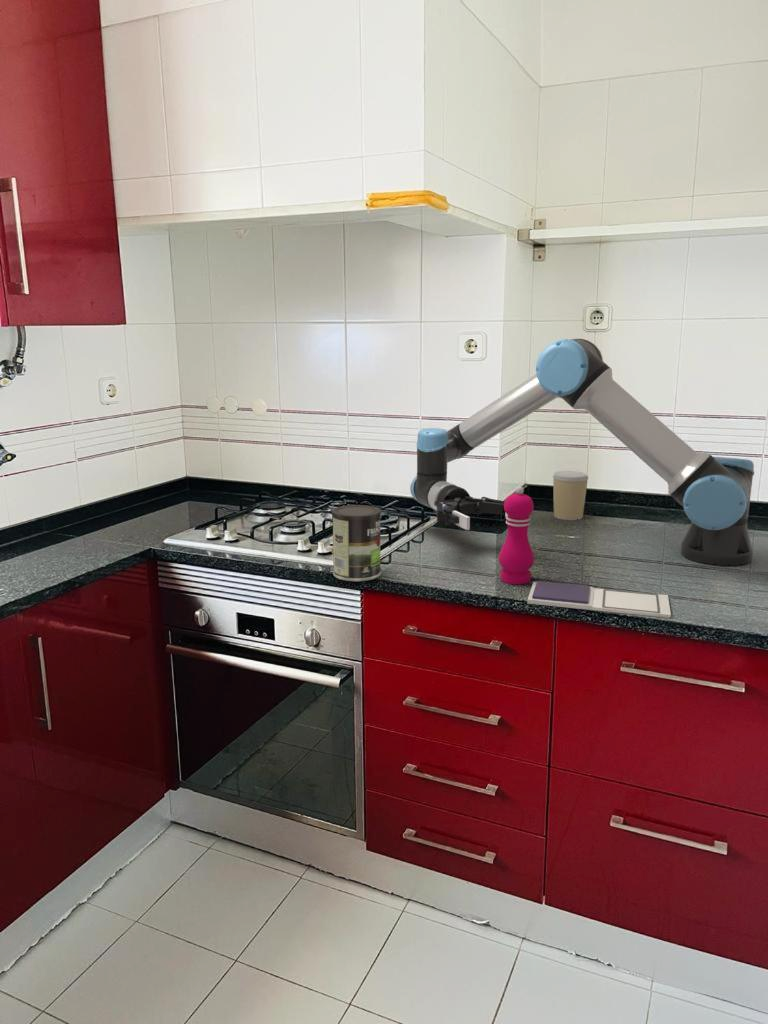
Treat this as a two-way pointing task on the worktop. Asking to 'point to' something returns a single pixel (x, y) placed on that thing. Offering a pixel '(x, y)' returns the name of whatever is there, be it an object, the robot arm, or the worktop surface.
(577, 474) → the coffee cup
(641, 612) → the board
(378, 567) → the coffee can
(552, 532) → the worktop surface
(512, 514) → the pepper mill
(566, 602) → the ink pad
